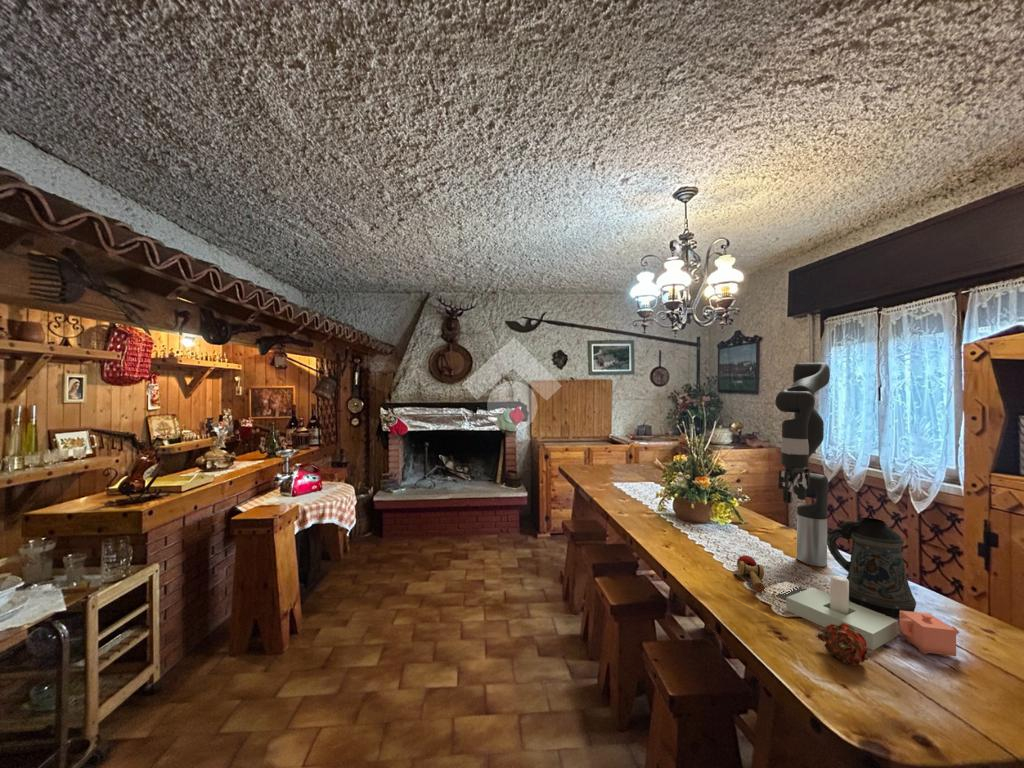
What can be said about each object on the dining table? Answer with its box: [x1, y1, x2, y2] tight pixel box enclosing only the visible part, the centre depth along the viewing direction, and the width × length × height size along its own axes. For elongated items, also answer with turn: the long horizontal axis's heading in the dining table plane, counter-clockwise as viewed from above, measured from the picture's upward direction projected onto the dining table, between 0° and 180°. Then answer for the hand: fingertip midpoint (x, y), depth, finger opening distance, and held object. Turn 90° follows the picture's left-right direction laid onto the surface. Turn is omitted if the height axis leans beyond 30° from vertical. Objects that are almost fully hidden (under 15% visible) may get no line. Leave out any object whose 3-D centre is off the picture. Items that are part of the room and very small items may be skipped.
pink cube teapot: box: [898, 610, 960, 658], centre depth 102 cm, size 8×12×8 cm, turn 78°
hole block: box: [785, 587, 899, 651], centre depth 112 cm, size 14×20×4 cm
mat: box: [775, 585, 808, 601], centre depth 129 cm, size 14×10×1 cm
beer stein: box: [827, 517, 917, 619], centre depth 124 cm, size 16×19×25 cm
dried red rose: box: [817, 623, 869, 666], centre depth 97 cm, size 8×8×12 cm
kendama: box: [736, 554, 766, 593], centre depth 137 cm, size 8×6×18 cm
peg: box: [829, 575, 850, 615], centre depth 112 cm, size 4×4×12 cm
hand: (794, 501), depth 134 cm, fingers open, 8 cm apart
